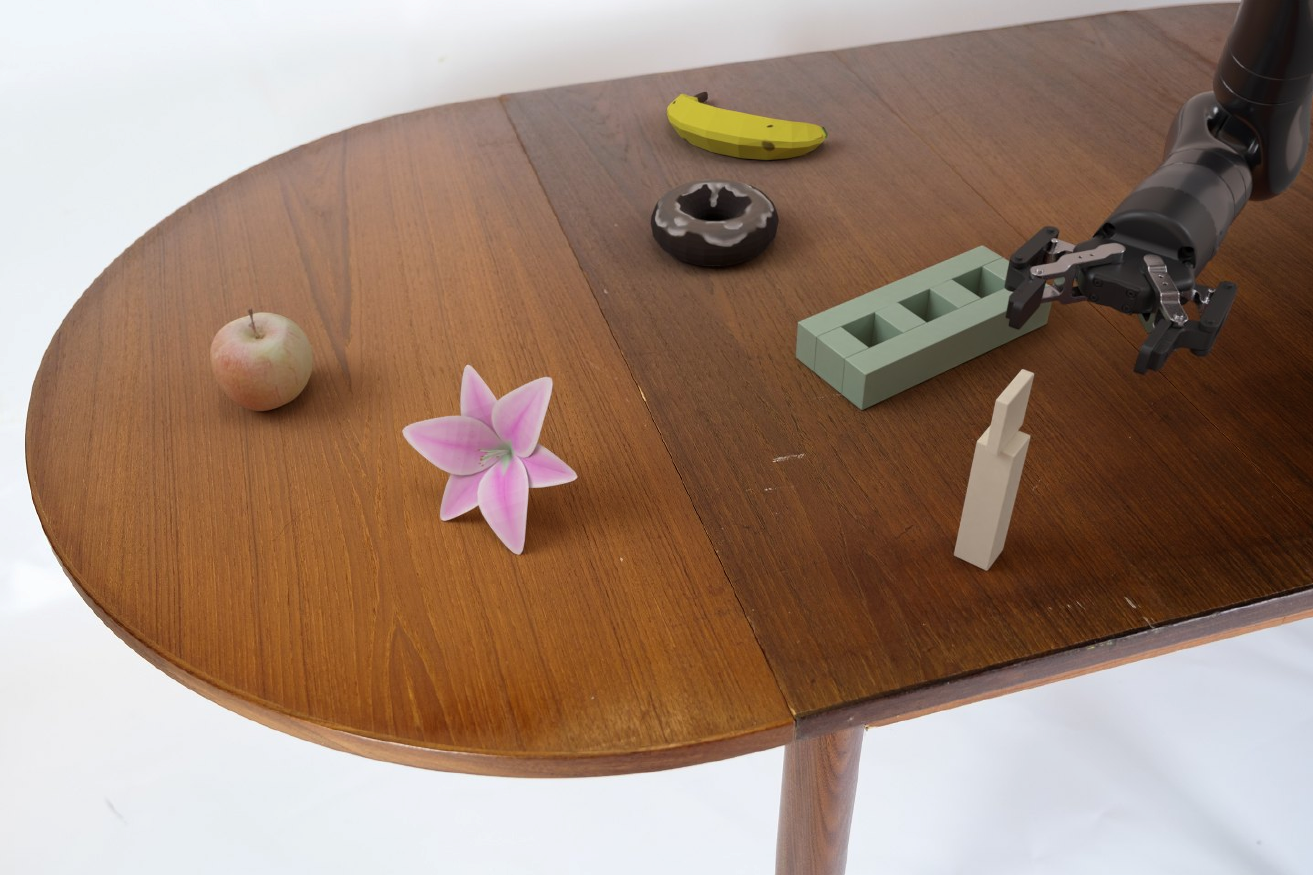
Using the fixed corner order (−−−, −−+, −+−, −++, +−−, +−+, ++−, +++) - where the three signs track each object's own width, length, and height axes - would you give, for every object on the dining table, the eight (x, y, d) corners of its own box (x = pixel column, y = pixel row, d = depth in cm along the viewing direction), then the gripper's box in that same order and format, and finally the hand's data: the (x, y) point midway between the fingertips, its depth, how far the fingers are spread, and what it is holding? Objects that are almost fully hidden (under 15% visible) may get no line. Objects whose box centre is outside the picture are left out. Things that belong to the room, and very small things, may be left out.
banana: (828, 128, 112) (834, 88, 125) (656, 110, 114) (679, 72, 127) (821, 173, 115) (828, 129, 127) (653, 154, 116) (676, 112, 129)
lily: (409, 475, 83) (358, 431, 74) (531, 372, 85) (495, 317, 76) (506, 594, 79) (465, 562, 70) (633, 484, 81) (608, 439, 72)
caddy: (1047, 324, 93) (1055, 288, 91) (861, 411, 86) (865, 374, 83) (976, 279, 99) (982, 244, 96) (795, 357, 91) (797, 321, 89)
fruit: (240, 369, 92) (212, 286, 87) (330, 367, 92) (307, 284, 87) (212, 429, 87) (180, 345, 81) (307, 427, 86) (281, 342, 81)
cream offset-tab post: (1007, 544, 75) (1048, 377, 66) (983, 577, 73) (1022, 409, 64) (973, 529, 76) (1009, 363, 67) (949, 561, 74) (982, 394, 65)
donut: (802, 250, 103) (805, 211, 101) (692, 288, 99) (691, 249, 96) (734, 197, 111) (734, 160, 108) (628, 230, 107) (626, 193, 104)
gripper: (1081, 160, 84) (984, 256, 75) (1283, 215, 77) (1205, 330, 68) (1060, 247, 89) (967, 348, 80) (1248, 306, 82) (1171, 424, 73)
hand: (1076, 339), depth 74 cm, fingers open, 8 cm apart
